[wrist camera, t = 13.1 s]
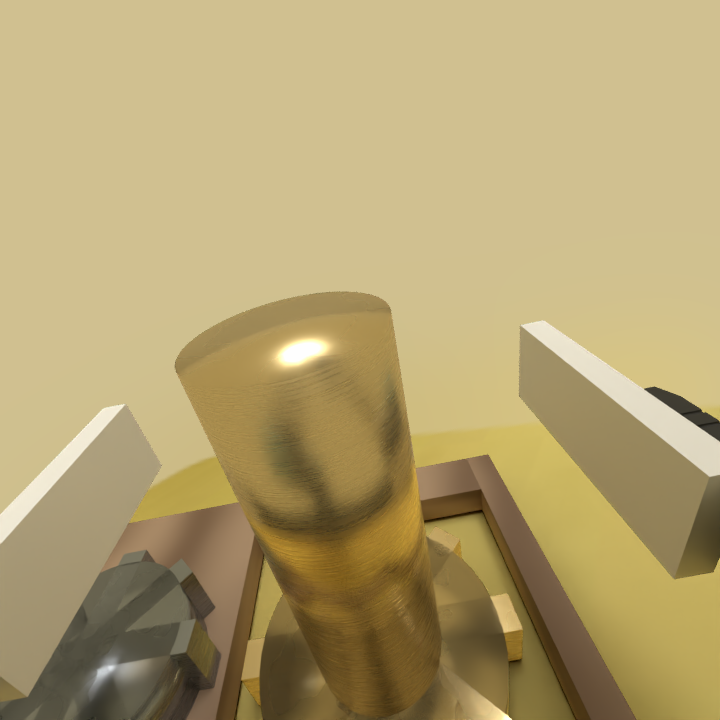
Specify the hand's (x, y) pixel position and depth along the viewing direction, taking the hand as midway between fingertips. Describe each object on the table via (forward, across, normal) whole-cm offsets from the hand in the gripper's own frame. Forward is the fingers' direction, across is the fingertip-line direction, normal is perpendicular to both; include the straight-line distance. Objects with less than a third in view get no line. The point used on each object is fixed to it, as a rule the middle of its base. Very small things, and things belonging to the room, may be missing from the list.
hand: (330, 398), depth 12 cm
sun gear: (-3, -10, -9) cm, 13 cm away
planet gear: (-3, 0, -10) cm, 11 cm away
